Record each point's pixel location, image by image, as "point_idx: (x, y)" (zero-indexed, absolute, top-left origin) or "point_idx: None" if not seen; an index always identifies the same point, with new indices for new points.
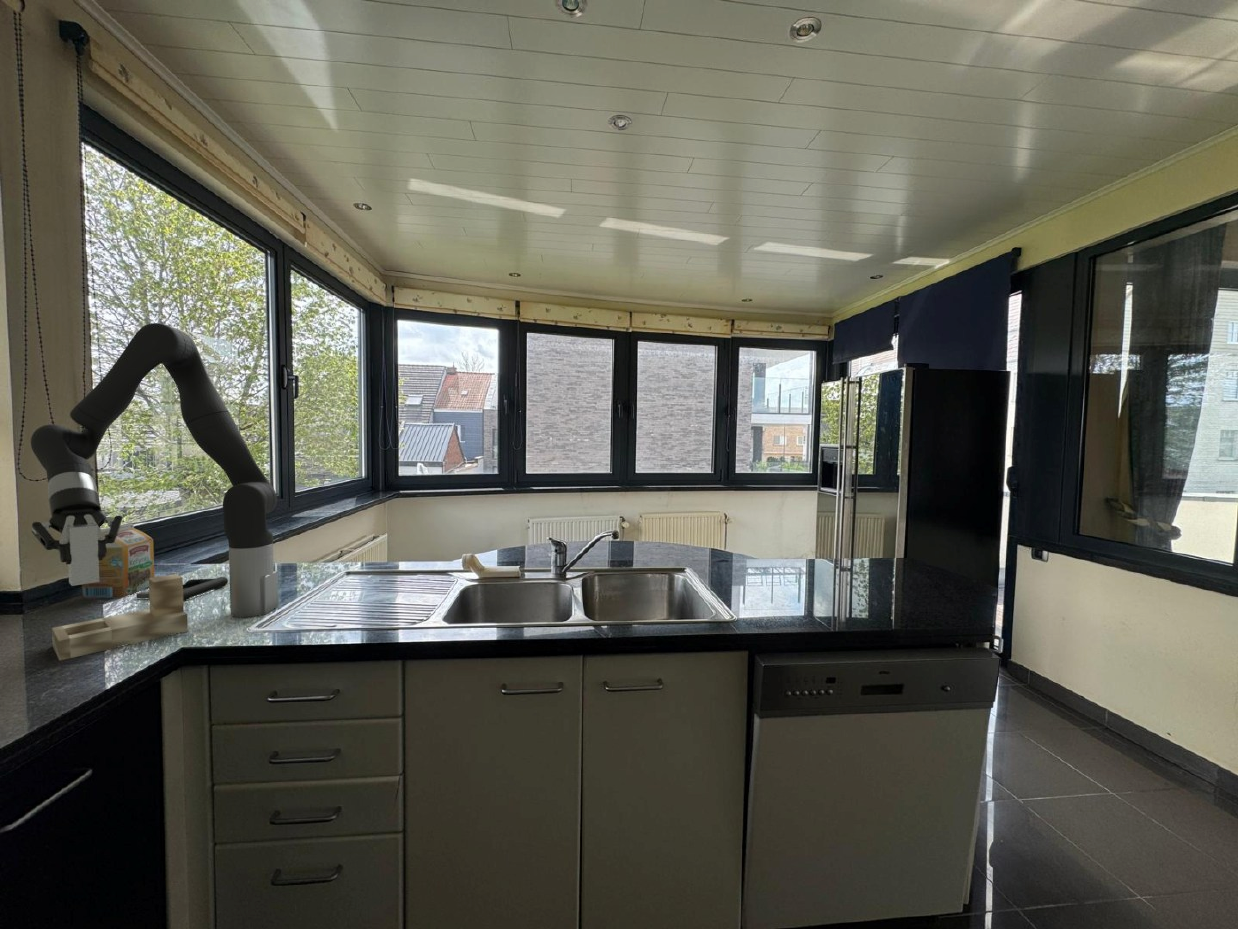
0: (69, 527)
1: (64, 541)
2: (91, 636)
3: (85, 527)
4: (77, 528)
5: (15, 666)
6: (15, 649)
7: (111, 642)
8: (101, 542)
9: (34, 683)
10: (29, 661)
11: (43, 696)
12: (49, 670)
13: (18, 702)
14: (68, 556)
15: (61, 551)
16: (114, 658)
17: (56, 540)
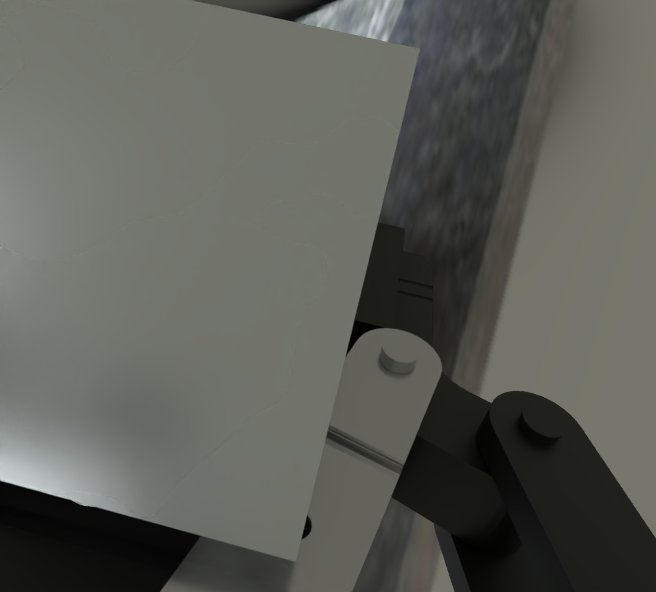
0: (385, 155)
1: (393, 343)
2: None
3: (161, 14)
4: (295, 33)
5: (478, 355)
6: (426, 561)
7: None
8: None
9: (494, 151)
10: (443, 368)
11: (510, 39)
12: (441, 223)
13: (550, 52)
14: (390, 233)
15: (423, 307)
16: None
17: (453, 453)
